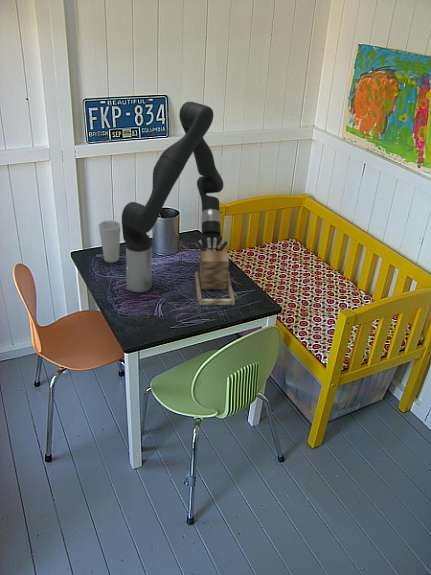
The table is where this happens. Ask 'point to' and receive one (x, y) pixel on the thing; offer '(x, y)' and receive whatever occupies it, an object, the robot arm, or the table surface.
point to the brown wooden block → (213, 269)
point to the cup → (110, 240)
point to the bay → (214, 301)
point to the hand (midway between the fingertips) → (212, 265)
